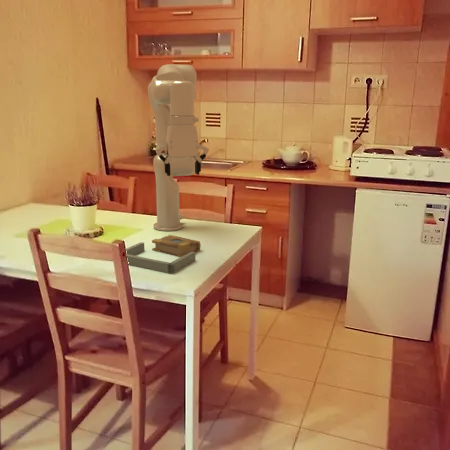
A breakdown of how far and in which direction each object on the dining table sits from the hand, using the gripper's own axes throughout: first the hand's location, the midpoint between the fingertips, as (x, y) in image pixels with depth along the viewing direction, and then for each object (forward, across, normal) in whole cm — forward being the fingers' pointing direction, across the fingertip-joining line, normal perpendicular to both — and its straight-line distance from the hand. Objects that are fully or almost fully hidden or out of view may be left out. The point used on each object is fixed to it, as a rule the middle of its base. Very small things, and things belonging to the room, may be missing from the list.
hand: (182, 174), depth 159 cm
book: (+31, 0, -12) cm, 33 cm away
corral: (+30, +9, -3) cm, 31 cm away
